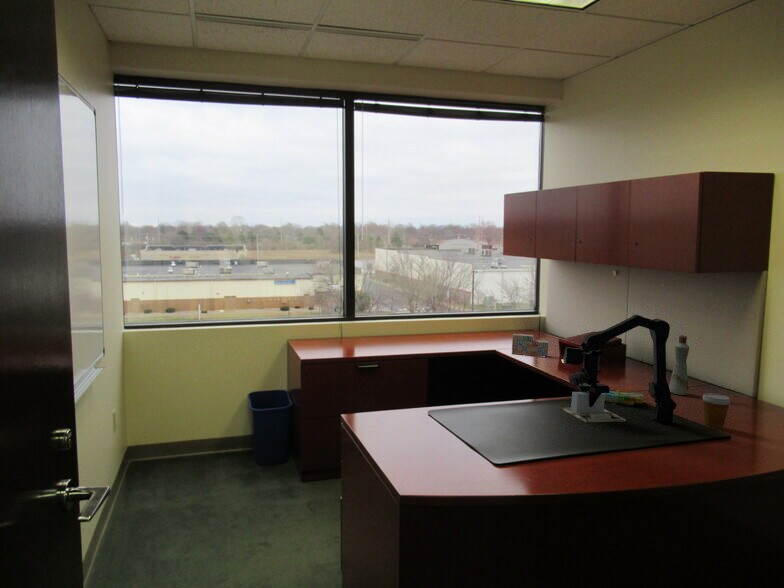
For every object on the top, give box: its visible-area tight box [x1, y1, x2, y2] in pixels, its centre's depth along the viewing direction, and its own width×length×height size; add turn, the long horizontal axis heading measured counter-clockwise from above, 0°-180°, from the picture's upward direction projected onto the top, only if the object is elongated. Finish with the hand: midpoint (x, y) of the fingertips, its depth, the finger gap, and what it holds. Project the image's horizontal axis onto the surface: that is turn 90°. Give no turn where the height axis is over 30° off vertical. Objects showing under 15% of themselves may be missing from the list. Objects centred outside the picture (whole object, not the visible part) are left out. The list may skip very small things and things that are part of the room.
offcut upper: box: [589, 413, 612, 420], centre depth 221 cm, size 3×7×2 cm, turn 97°
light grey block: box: [570, 391, 606, 414], centre depth 229 cm, size 4×12×9 cm, turn 104°
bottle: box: [668, 334, 690, 396], centre depth 274 cm, size 9×9×28 cm
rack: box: [561, 406, 627, 423], centre depth 226 cm, size 17×17×2 cm
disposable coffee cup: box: [701, 392, 731, 431], centre depth 222 cm, size 10×10×12 cm
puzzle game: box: [604, 387, 645, 406], centre depth 254 cm, size 12×5×20 cm
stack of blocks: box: [511, 333, 549, 358], centre depth 356 cm, size 21×6×12 cm, turn 75°
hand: (587, 405), depth 229 cm, fingers closed on light grey block, 4 cm apart
